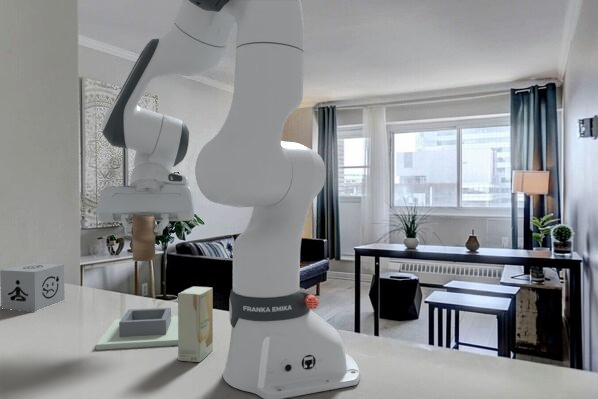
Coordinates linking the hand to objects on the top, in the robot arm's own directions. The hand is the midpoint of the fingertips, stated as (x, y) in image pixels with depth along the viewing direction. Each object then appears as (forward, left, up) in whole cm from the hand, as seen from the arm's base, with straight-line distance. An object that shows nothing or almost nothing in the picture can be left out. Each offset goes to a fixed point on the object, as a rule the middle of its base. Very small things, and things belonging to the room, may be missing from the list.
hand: (143, 233), depth 91 cm
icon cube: (+32, -28, -21) cm, 48 cm away
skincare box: (-11, +13, -21) cm, 28 cm away
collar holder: (0, -1, -21) cm, 21 cm away
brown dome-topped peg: (0, -1, -5) cm, 5 cm away
